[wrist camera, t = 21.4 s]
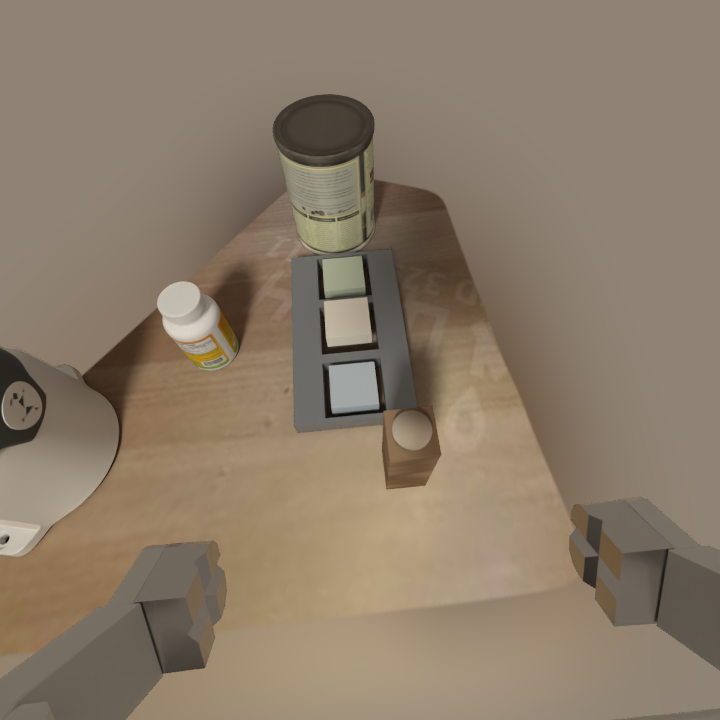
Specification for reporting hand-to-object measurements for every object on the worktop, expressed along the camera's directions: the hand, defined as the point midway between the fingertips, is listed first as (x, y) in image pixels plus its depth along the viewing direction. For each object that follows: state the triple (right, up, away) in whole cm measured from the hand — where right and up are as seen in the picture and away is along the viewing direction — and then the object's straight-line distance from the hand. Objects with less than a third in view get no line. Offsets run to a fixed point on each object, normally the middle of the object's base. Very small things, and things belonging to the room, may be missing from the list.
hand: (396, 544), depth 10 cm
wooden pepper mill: (+3, -6, +30) cm, 31 cm away
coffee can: (-4, +21, +45) cm, 50 cm away
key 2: (-3, +13, +39) cm, 42 cm away
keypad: (-2, +7, +37) cm, 38 cm away
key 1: (-1, +1, +33) cm, 33 cm away
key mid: (-2, +8, +35) cm, 36 cm away
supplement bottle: (-17, +5, +37) cm, 41 cm away
